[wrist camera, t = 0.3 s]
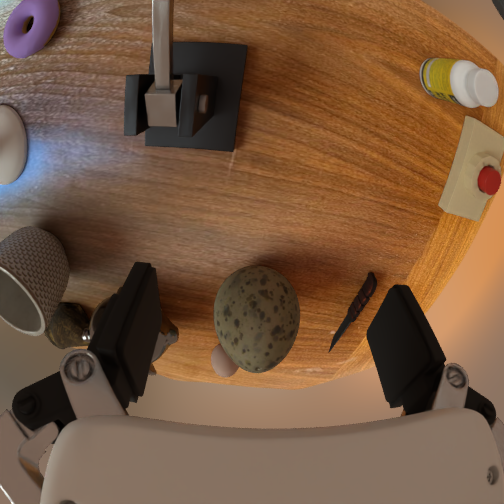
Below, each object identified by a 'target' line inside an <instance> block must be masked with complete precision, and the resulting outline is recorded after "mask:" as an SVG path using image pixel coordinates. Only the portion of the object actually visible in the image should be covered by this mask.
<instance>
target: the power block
mask: <svg viewBox="0 0 504 504" xmlns="http://www.w3.org/2000/svg"><path fill="white" fill-rule="evenodd" d="M503 152H504V137H503V136H502V135H500V134H499V133H497V132H496V131H494V130H493V129H491V128H490V127H488V126H486V125H485V124H483V123H482V122H480V121H478V120H477V119H475V118H472V117H469V116H466V117H465V121H464V125H463V129H462V133H461V137H460V141H459V144H458V148H457V151H456V154H455V158H454V161H453V164H452V167H451V170H450V173H449V176H448V179H447V182H446V185H445V188H444V191H443V193H442V196H441V199H440V202H439V204H438V205H439V206H440V207H441V208H442V209H443V210H444V211H445V212H447V213H451V214H454V215H458V216H461V217H465V218H468V219H471V220H475V221H479V219H480V217H481V214H482V212H483V209H484V207H485V205H486V202H487V199H490V198H491V197H492V196H493V195H488V194H486V193H485V192H484V191H482V190H481V189H480V188H479V186H478V176H479V173H480V171H481V170H482V168H483V167H485V166H490V167H491V168H493V169H495V170H496V171H498V172H499V174H500V176H501V167H500V162H501V159H502V155H503Z"/></svg>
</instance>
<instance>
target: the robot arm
mask: <svg viewBox="0 0 504 504" xmlns="http://www.w3.org/2000/svg"><path fill="white" fill-rule="evenodd" d="M161 324H162V313H161V306H160V299H159V291H158V283H157V275H156V269H155V268H153V267H151V264H150V263H144V262H135V263H134V265H133V267H132V269H131V271H130V273H129V275H128V277H127V279H126V281H125V283H124V285H123V287H122V289H121V292H120V294H115V293H114V294H113V295H112V296H111V298H110V300H109V302H108V304H107V306H106V308H105V310H104V312H103V315H102V317H101V319H100V321H99V323H98V325H97V328H96V330H95V332H94V334H93V337H92V339H91V341H90V344H89V346H88V348H87V350H86V349H77V350H73V351H71V352H69V353H68V354H67V355H66V356H65V357H64V358H63V360H62V361H61V364H60V371H59V372H57V373H55V374H53V375H51V376H48V377H46V378H44V379H42V380H40V381H38V382H36V383H34V384H32V385H30V386H28V387H25V388H24V389H22V390H20V391H19V392H18V393H17V394H16V395H15V397H14V399H13V403H12V409H11V410H10V411H8V410H7V409H6V410H5V411H4V412H3V413H2V414H1V415H0V487H1V488H2V490H3V491H4V493H5V494H6V496H7V497H8V498H9V500H10V501H11V502H12V503H13V504H504V424H503V422H502V421H501V420H500V419H499V418H498V417H497V418H496V411H495V408H494V406H493V404H492V402H491V401H489V400H488V399H487V398H485V397H484V396H482V395H480V394H479V393H478V392H476V391H475V390H473V389H472V388H470V387H469V386H468V385H469V379H468V375H467V374H466V371H465V370H464V369H463V368H462V367H461V366H459V365H458V364H456V363H449V364H447V365H446V366H445V365H444V362H445V361H446V357H445V355H444V353H443V351H442V349H441V347H440V345H439V343H438V340H437V338H436V337H435V334H434V332H433V330H432V329H431V327H430V324H429V323H428V321H427V319H426V317H425V315H424V313H423V311H422V309H421V307H420V306H419V304H418V302H417V300H416V298H415V297H414V295H413V293H412V291H411V289H410V288H409V286H407V285H398V284H396V285H394V286H393V287H392V288H390V289H389V291H388V293H387V295H386V297H385V299H384V301H383V303H382V305H381V306H380V308H379V310H378V312H377V314H376V316H375V317H374V319H373V321H372V323H371V324H370V326H369V328H368V330H367V334H366V335H367V340H368V343H369V346H370V349H371V352H372V355H373V358H374V362H375V365H376V368H377V371H378V374H379V378H380V381H381V384H382V388H383V392H384V395H385V399H386V401H387V402H389V404H390V408H396V407H400V406H402V405H403V408H404V409H403V412H402V414H401V416H400V417H396V418H392V419H385V420H379V421H373V422H366V423H358V424H350V425H341V426H330V427H316V428H298V429H297V428H295V429H252V428H229V427H217V426H206V425H196V424H186V423H178V422H171V421H164V420H157V419H150V418H141V417H135V416H129V414H128V413H127V411H126V408H127V407H128V405H129V401H130V402H135V403H137V400H138V396H143V394H144V389H145V385H146V381H147V377H148V373H149V369H150V365H151V361H152V357H153V354H154V350H155V346H156V342H157V339H158V335H159V331H160V328H161ZM50 444H54V446H53V449H52V452H51V455H50V458H49V461H48V465H47V468H46V473H45V477H43V476H42V474H41V473H40V471H39V466H38V465H39V460H40V458H41V457H42V455H43V454H44V453H45V452H46V451H45V449H46V448H47V447H48V446H49V445H50Z"/></svg>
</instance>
